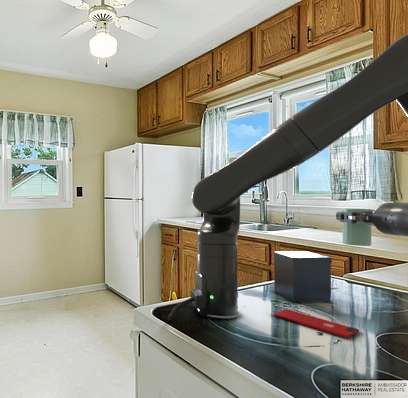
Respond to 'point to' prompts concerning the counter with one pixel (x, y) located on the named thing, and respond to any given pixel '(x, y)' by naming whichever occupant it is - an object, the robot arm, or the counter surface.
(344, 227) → the jar
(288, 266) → the dark gray box
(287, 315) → the electronic device
